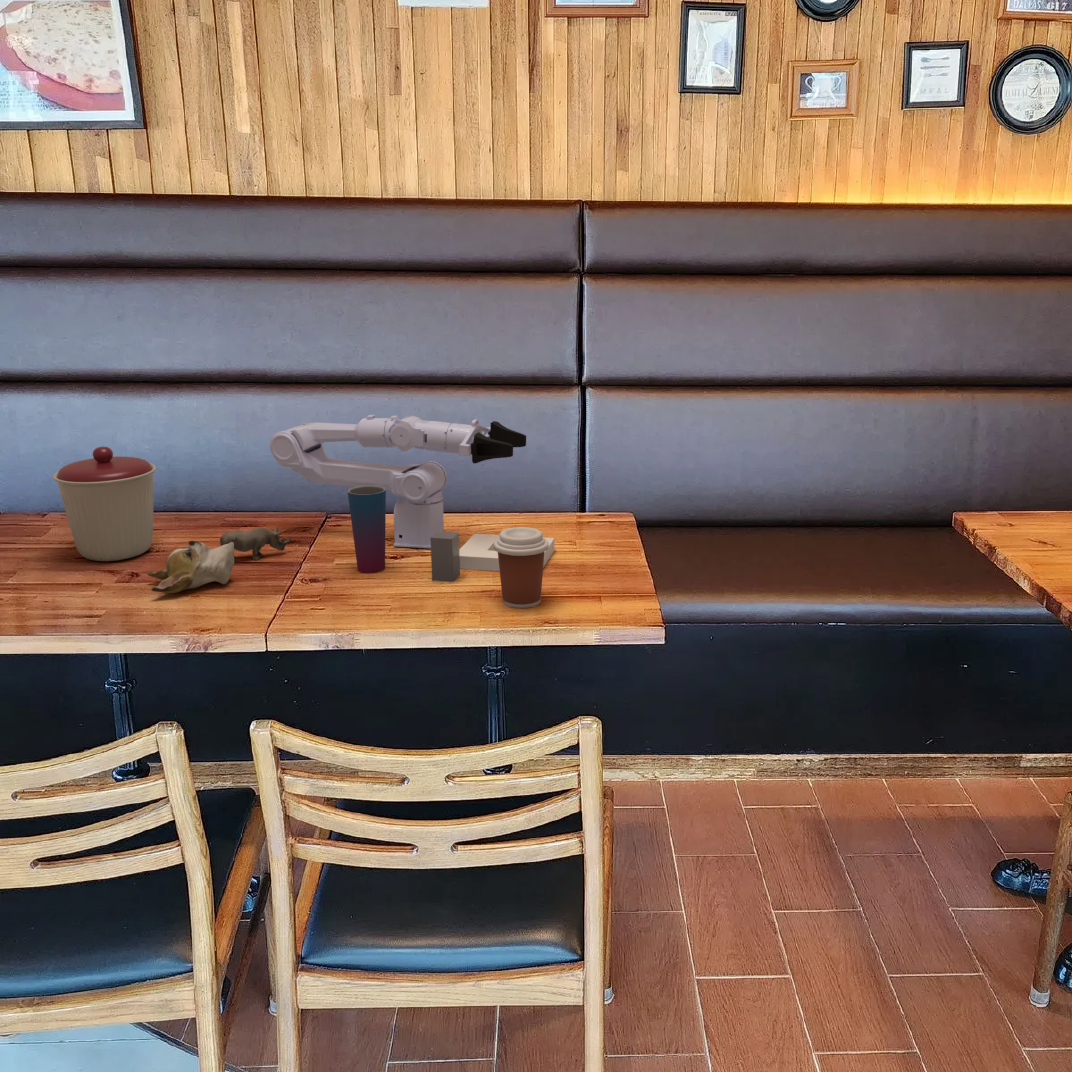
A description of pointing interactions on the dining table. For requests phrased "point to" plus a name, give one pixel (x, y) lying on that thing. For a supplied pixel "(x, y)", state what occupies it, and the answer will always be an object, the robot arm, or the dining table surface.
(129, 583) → the dining table surface
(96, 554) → the canister
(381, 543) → the cup
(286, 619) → the dining table surface
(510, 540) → the coffee cup
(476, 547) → the socket plate
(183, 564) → the ceramic sculpture
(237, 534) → the rhino figurine
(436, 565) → the plug
